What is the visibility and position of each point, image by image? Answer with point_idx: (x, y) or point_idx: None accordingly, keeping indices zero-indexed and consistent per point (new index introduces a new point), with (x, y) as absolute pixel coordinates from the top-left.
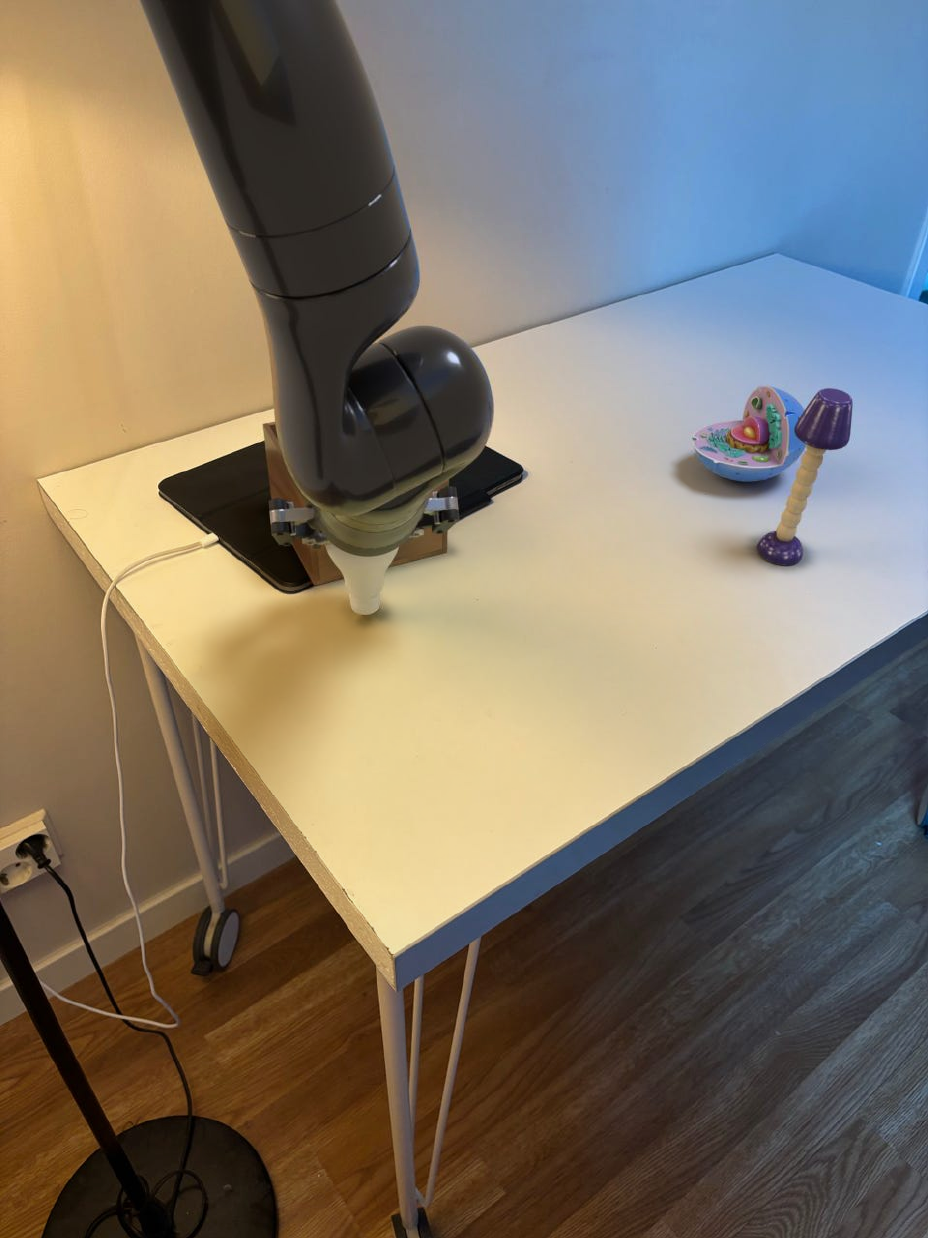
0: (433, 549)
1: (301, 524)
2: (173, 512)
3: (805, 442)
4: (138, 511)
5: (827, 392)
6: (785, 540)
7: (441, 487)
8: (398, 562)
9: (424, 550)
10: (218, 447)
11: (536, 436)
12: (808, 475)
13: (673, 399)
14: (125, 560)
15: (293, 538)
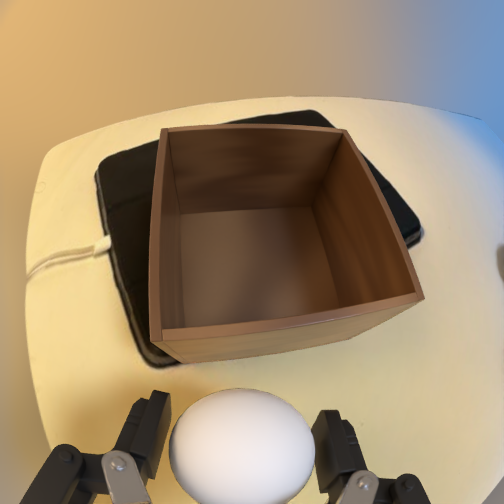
0: (338, 340)
1: (104, 487)
2: (92, 197)
3: None
4: (71, 191)
5: None
6: None
7: (394, 314)
8: (293, 350)
9: (328, 342)
10: None
11: (425, 189)
12: None
13: (484, 189)
14: (37, 254)
15: (91, 500)
